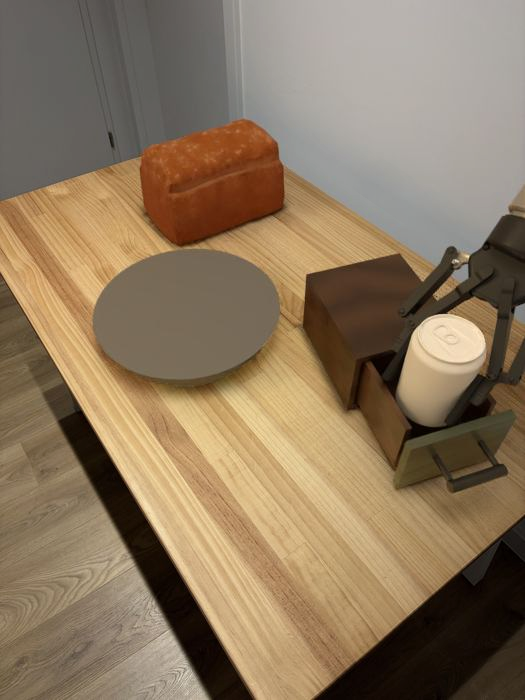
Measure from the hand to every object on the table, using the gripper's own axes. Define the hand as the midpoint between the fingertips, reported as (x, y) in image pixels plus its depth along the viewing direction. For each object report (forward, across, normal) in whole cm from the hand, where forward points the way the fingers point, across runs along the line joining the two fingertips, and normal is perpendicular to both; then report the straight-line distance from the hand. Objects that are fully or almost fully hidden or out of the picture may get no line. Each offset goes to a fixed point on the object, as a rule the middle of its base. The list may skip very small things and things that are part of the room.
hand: (417, 400), depth 64 cm
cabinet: (0, +13, -14) cm, 19 cm away
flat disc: (+12, +36, -3) cm, 38 cm away
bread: (-5, +58, -19) cm, 61 cm away
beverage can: (0, 0, -5) cm, 5 cm away
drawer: (+5, -1, -8) cm, 10 cm away
